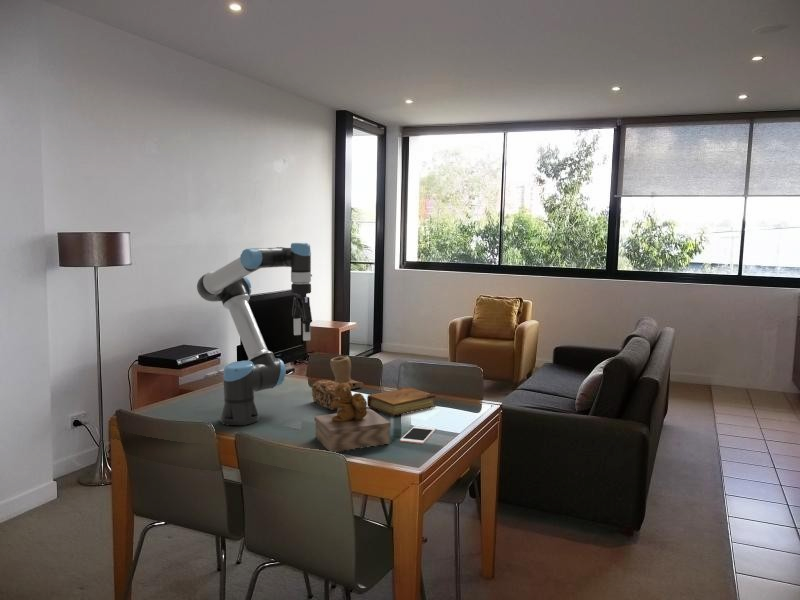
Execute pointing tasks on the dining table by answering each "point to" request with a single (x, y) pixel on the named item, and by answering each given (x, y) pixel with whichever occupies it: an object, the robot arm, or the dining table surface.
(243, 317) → the robot arm
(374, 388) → the dining table surface
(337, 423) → the walnut box
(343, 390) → the stuffed squirrel
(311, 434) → the dining table surface
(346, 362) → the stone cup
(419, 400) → the diary
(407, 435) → the cell phone
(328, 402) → the bread
